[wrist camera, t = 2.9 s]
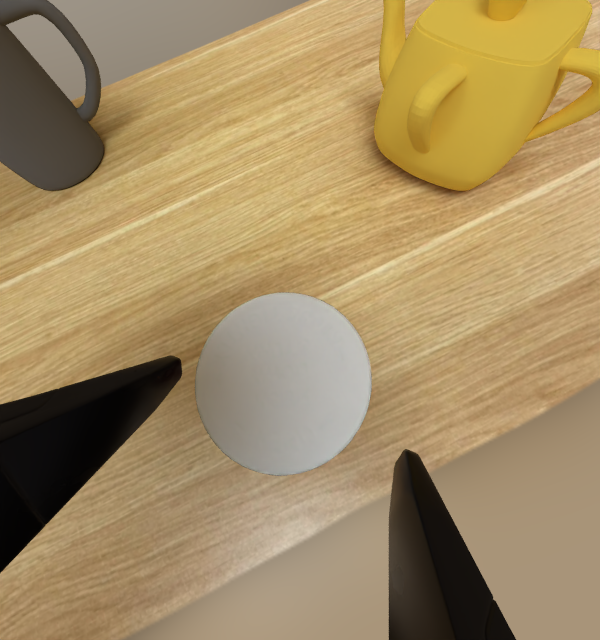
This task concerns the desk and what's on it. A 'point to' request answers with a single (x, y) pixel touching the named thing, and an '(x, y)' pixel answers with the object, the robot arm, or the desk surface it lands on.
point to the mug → (45, 107)
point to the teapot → (478, 83)
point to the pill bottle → (283, 383)
